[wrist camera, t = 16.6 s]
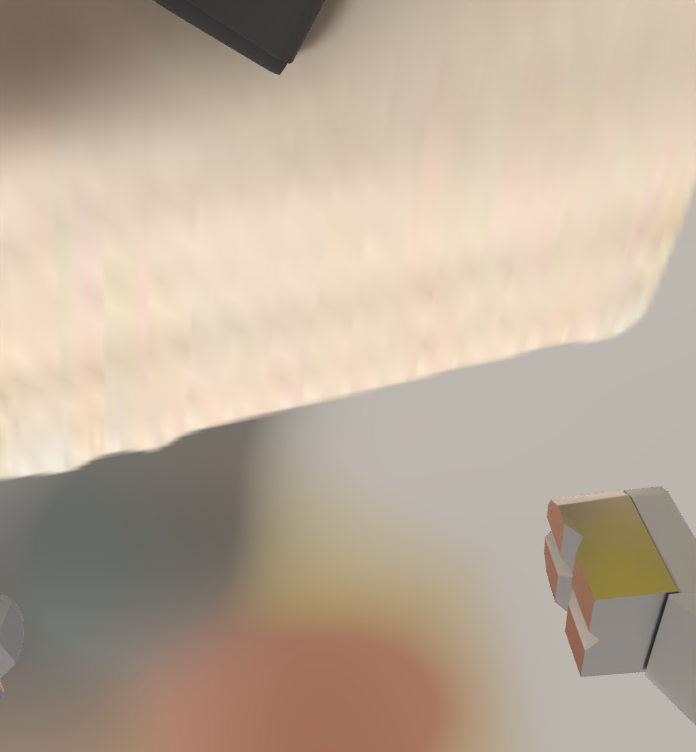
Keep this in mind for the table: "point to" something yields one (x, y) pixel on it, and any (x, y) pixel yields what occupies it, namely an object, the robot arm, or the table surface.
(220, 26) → the card reader
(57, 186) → the table surface
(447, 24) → the table surface
